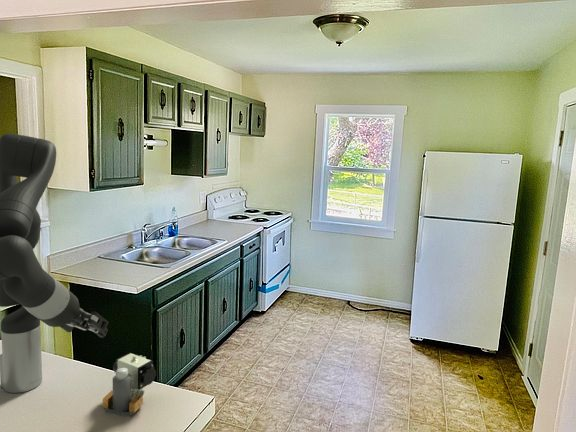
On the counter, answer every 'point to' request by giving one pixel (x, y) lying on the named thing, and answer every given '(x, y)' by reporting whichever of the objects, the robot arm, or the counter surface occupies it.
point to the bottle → (122, 390)
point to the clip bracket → (133, 407)
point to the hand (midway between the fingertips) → (87, 330)
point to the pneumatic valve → (137, 371)
